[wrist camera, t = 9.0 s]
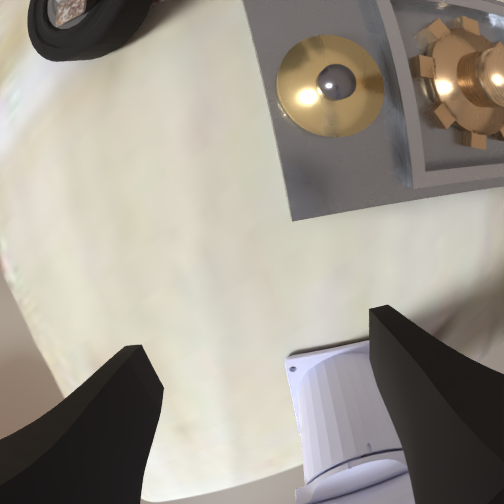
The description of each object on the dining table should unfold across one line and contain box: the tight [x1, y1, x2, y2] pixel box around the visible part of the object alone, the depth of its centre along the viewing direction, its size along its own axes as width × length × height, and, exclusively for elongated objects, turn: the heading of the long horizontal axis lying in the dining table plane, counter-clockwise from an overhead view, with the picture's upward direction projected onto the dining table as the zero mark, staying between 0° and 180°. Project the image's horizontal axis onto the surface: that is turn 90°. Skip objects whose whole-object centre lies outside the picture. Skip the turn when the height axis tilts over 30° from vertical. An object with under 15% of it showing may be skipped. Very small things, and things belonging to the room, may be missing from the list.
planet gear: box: [411, 15, 504, 150], centre depth 11 cm, size 8×8×4 cm
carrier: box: [242, 0, 504, 221], centre depth 12 cm, size 13×18×4 cm
